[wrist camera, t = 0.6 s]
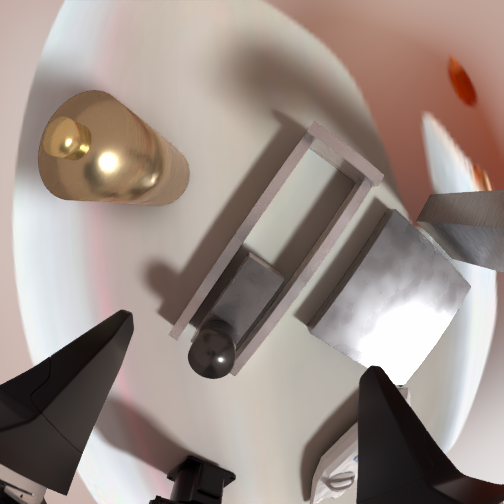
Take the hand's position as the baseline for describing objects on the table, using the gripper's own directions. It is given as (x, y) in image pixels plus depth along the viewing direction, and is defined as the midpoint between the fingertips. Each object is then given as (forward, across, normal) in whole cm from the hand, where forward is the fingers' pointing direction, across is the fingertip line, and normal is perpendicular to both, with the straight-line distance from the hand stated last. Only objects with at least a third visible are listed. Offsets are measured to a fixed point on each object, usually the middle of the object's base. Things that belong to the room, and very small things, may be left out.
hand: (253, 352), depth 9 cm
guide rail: (+13, -1, +4) cm, 13 cm away
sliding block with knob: (+11, +1, +8) cm, 14 cm away
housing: (+15, +9, 0) cm, 17 cm away
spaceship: (+4, -17, +23) cm, 28 cm away
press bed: (+13, -14, +4) cm, 19 cm away
